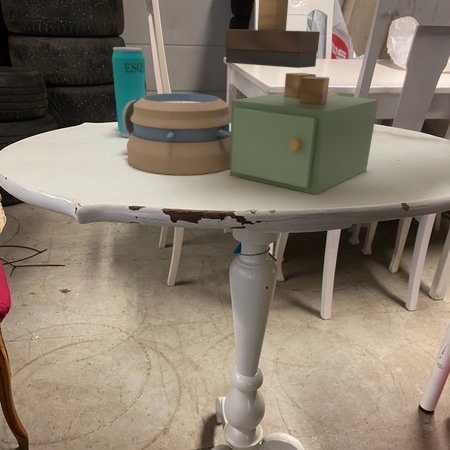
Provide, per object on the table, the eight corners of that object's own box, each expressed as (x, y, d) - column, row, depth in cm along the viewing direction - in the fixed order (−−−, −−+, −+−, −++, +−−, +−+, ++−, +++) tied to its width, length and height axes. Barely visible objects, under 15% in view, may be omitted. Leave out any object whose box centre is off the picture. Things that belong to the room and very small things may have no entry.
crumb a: (326, 102, 62) (329, 77, 61) (321, 104, 60) (324, 79, 59) (304, 100, 63) (307, 76, 62) (298, 103, 61) (301, 77, 60)
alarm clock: (137, 107, 60) (106, 88, 78) (142, 179, 64) (112, 145, 83) (258, 103, 65) (202, 86, 84) (254, 170, 70) (202, 140, 88)
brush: (316, 66, 54) (328, -46, 49) (297, 68, 51) (307, -52, 46) (246, 61, 59) (250, -41, 54) (224, 62, 56) (226, -46, 51)
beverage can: (153, 137, 90) (149, 48, 82) (125, 139, 87) (118, 48, 80) (141, 131, 94) (136, 47, 86) (114, 134, 91) (106, 47, 84)
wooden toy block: (313, 97, 67) (316, 74, 65) (297, 98, 65) (299, 74, 64) (299, 95, 69) (302, 72, 67) (283, 96, 67) (285, 73, 66)
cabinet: (366, 170, 71) (378, 99, 66) (309, 197, 59) (319, 113, 54) (287, 156, 78) (292, 91, 73) (222, 177, 66) (223, 101, 61)
